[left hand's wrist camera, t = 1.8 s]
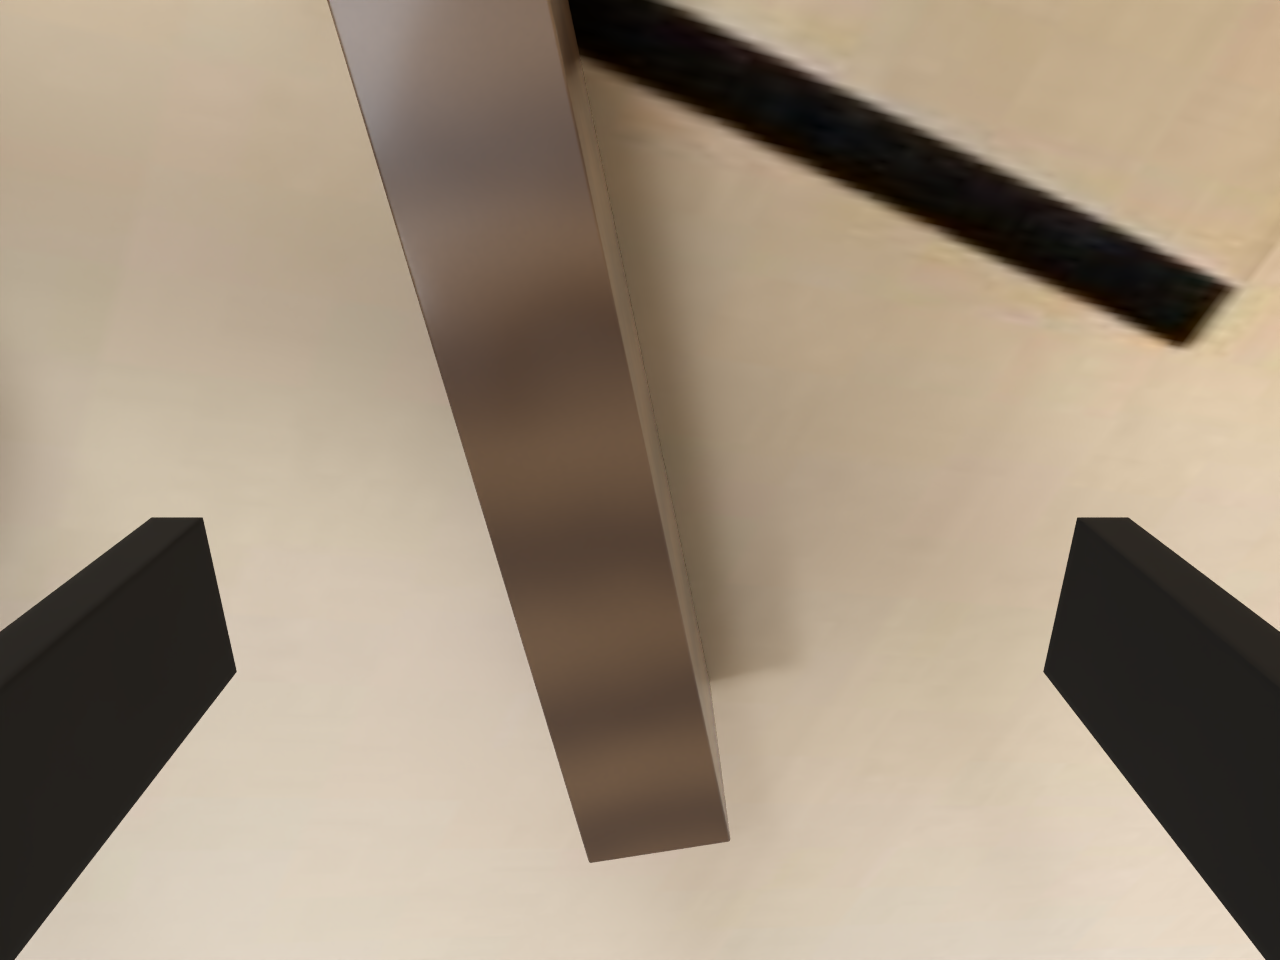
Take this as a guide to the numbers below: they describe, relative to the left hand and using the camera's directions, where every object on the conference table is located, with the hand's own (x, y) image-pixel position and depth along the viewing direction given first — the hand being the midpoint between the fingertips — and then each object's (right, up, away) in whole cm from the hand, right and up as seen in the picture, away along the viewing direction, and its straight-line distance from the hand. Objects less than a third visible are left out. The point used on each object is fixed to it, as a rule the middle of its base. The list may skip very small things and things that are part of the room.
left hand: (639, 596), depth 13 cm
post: (-7, +28, +8) cm, 30 cm away
